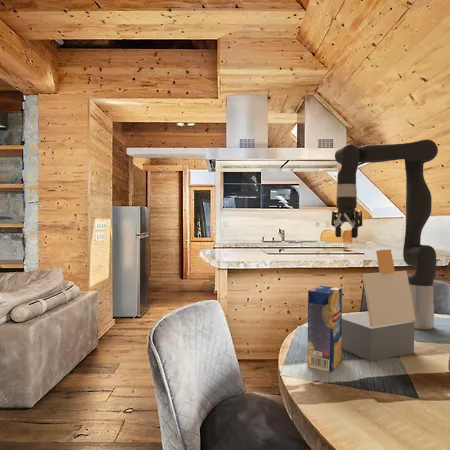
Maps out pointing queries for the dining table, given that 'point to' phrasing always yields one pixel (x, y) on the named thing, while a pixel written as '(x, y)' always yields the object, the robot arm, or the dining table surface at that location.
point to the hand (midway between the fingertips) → (346, 237)
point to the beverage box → (324, 327)
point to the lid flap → (388, 293)
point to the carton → (376, 337)
